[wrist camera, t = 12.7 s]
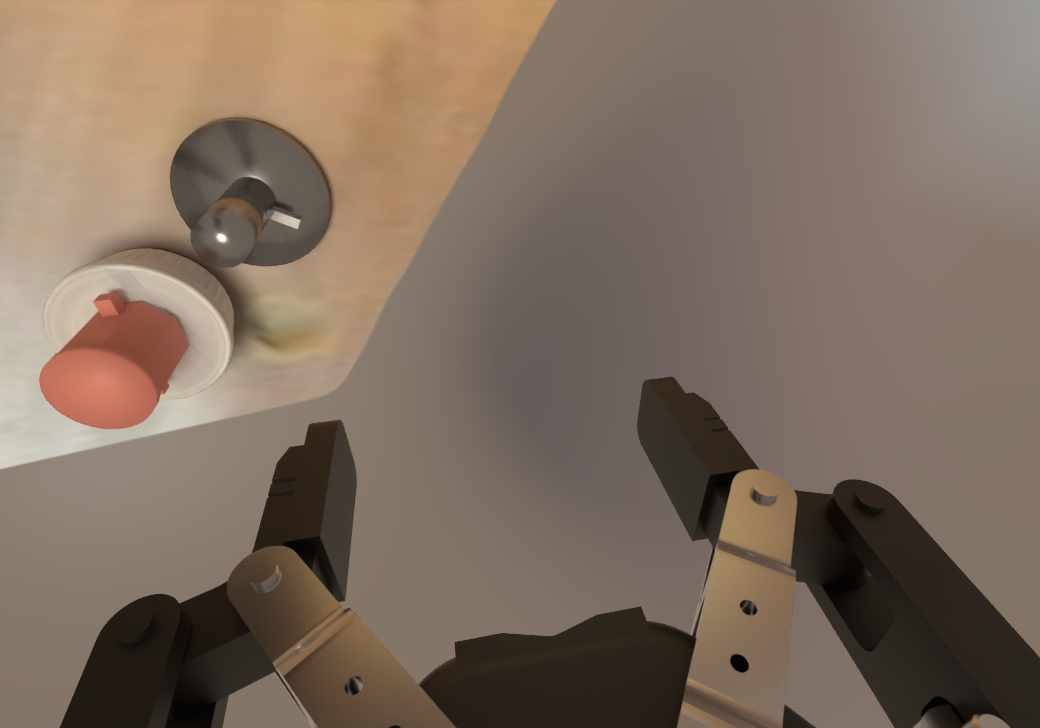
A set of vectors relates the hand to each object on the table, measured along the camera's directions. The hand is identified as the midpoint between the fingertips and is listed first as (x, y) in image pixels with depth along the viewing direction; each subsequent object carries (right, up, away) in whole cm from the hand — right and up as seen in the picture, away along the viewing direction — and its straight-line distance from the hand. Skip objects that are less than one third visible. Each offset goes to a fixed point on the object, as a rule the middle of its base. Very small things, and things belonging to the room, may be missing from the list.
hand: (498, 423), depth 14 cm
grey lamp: (-18, +14, +23) cm, 32 cm away
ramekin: (-27, +6, +27) cm, 38 cm away
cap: (-26, +3, +22) cm, 34 cm away
